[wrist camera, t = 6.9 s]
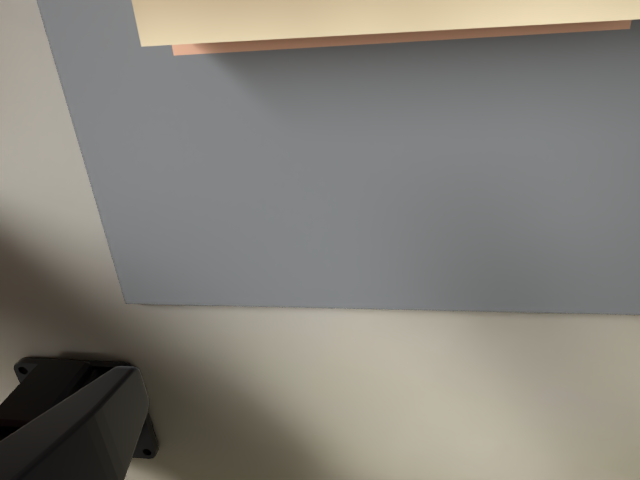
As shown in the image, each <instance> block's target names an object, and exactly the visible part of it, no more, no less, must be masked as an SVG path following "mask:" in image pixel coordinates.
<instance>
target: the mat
mask: <svg viewBox="0 0 640 480" xmlns="http://www.w3.org/2000/svg"><path fill="white" fill-rule="evenodd" d="M37 3H38V7H39V10H40V14H41V17H42V20H43V24H44V27H45V31H46V34H47V37H48V41H49V44H50V48H51V51H52V54H53V58H54V61H55V65H56V68H57V72H58V75H59V78H60V82H61V85H62V89H63V92H64V95H65V99H66V102H67V106H68V109H69V112H70V116H71V119H72V123H73V126H74V129H75V133H76V136H77V140H78V143H79V146H80V150H81V153H82V157H83V160H84V164H85V167H86V170H87V174H88V177H89V181H90V184H91V187H92V191H93V194H94V198H95V201H96V204H97V208H98V211H99V215H100V218H101V221H102V225H103V228H104V232H105V235H106V238H107V242H108V245H109V249H110V252H111V256H112V259H113V262H114V266H115V269H116V273H117V276H118V279H119V283H120V286H121V290H122V293H123V296H124V300H125V303H126V304H166V305H212V306H258V307H304V308H350V309H396V310H442V311H488V312H534V313H580V314H626V315H640V19H635V20H617V21H599V22H580V23H562V24H544V25H526V26H508V27H489V28H471V29H453V30H435V31H416V32H398V33H380V34H362V35H344V36H325V37H307V38H289V39H271V40H252V41H234V42H216V43H198V44H179V45H161V46H143V47H141V43H140V38H139V33H138V28H137V24H136V19H135V14H134V9H133V5H132V0H37Z"/></svg>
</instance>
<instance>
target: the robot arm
mask: <svg viewBox="0 0 640 480" xmlns="http://www.w3.org/2000/svg"><path fill="white" fill-rule="evenodd" d="M14 370H15V373H16V375H17V377H18V380H19V382H20V384H19V385H18V386H17V387H16V388H15V390H14V391H13V392H12V393H11V394H10V395H9V396H8V397H7V398H6V399H5V400H4V402H3V403H2V404H1V405H0V480H124V479H125V476H126V473H127V470H128V467H129V465H130V462H131V459H132V457H133V458H147V459H151V458H154V457H155V456H156V454H157V452H158V450H159V447H158V443H157V440H156V437H155V433H154V430H153V427H152V424H151V420H150V417H149V414H148V408H149V398H148V394H147V391H146V388H145V384H144V381H143V378H142V374H141V372H140V370H139V369H138V368H136V367H133V366H132V365H131V364H129V363H126V362H113V361H89V360H64V359H40V358H22V359H20V360H19V361H18V362H17V363H16V364H15V365H14Z"/></svg>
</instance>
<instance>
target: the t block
mask: <svg viewBox="0 0 640 480" xmlns="http://www.w3.org/2000/svg"><path fill="white" fill-rule="evenodd" d="M132 5H133V9H134V14H135V19H136V24H137V28H138V33H139V38H140V43H141V47H143V46H161V45H179V44H198V43H216V42H234V41H252V40H271V39H289V38H307V37H325V36H344V35H362V34H380V33H398V32H416V31H435V30H453V29H471V28H489V27H508V26H526V25H544V24H562V23H580V22H599V21H617V20H635V19H640V0H132Z"/></svg>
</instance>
